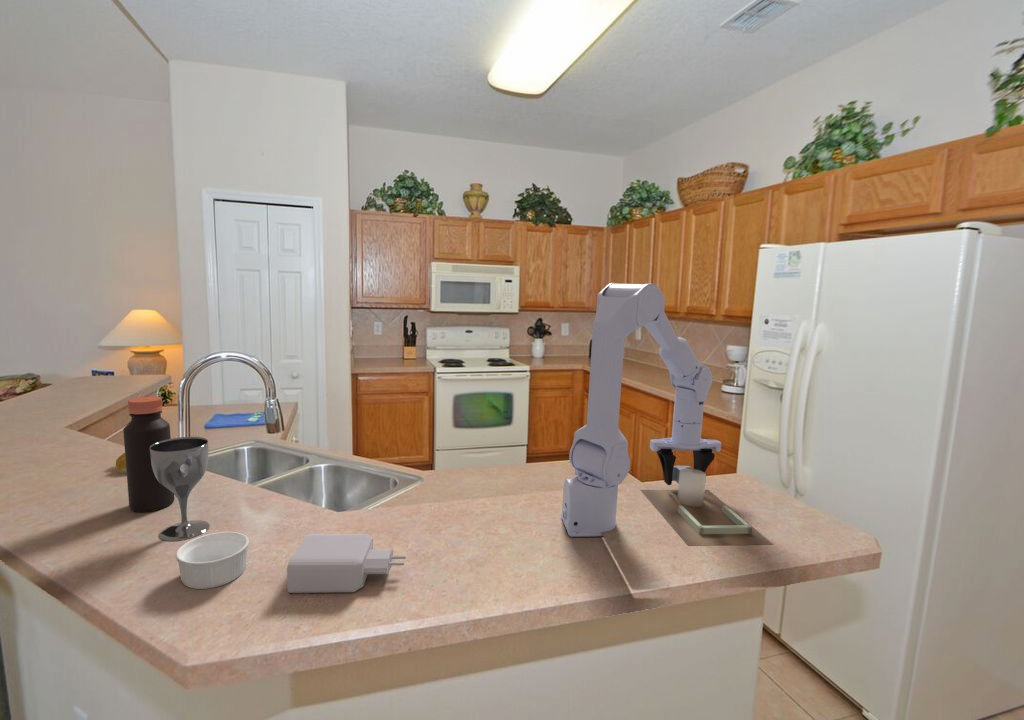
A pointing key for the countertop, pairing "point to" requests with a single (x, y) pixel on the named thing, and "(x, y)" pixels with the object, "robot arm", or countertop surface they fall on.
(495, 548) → the countertop surface
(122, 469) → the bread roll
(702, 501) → the white blue t-bar grip
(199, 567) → the ramekin
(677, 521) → the board
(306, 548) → the charger
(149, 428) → the bottle
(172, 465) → the wine glass
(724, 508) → the cradle
